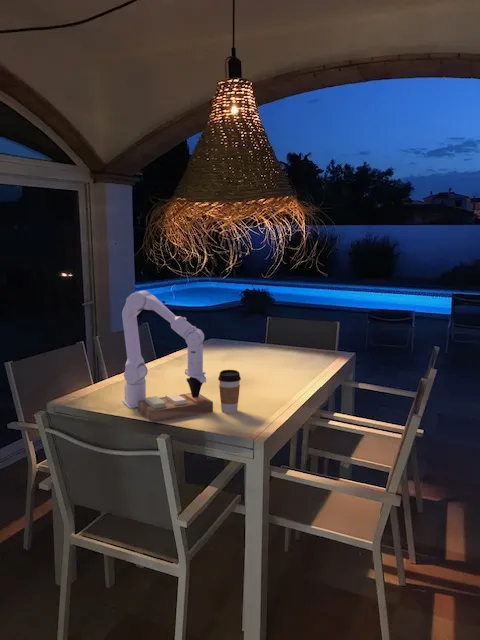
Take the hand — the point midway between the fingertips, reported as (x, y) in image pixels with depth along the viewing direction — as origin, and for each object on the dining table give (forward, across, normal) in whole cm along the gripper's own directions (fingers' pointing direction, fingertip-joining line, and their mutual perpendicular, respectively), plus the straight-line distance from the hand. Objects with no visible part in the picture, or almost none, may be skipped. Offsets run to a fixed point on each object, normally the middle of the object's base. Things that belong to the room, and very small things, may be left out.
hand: (195, 396), depth 202 cm
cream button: (+3, 0, +8) cm, 9 cm away
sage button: (+3, 0, +16) cm, 16 cm away
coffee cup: (+5, -9, -10) cm, 14 cm away
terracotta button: (+4, 0, 0) cm, 4 cm away
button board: (+4, 0, +8) cm, 9 cm away
